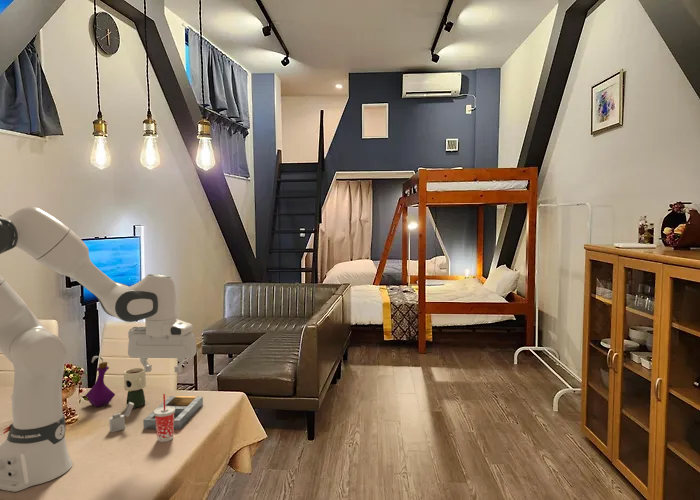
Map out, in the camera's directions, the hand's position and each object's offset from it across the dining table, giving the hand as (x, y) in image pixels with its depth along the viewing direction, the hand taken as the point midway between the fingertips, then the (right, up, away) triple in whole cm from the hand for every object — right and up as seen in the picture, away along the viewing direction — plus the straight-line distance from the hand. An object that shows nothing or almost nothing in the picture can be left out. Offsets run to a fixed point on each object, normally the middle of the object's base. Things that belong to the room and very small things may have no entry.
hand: (163, 371), depth 143 cm
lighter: (-17, -21, +8) cm, 28 cm away
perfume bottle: (-34, -20, +28) cm, 49 cm away
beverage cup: (0, -21, +2) cm, 21 cm away
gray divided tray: (-3, -20, +18) cm, 27 cm away
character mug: (-21, -20, +27) cm, 39 cm away
